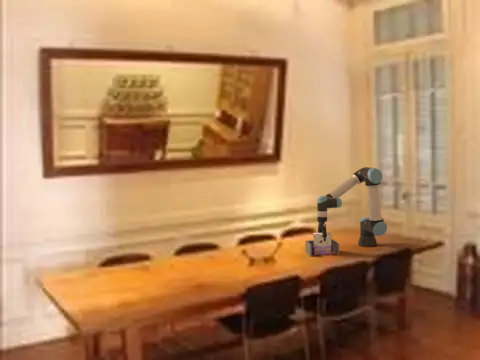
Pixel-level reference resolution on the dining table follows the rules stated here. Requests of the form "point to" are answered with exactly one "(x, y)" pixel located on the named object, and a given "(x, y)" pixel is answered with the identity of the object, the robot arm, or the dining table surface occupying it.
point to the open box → (310, 247)
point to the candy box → (318, 246)
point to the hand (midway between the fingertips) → (322, 243)
